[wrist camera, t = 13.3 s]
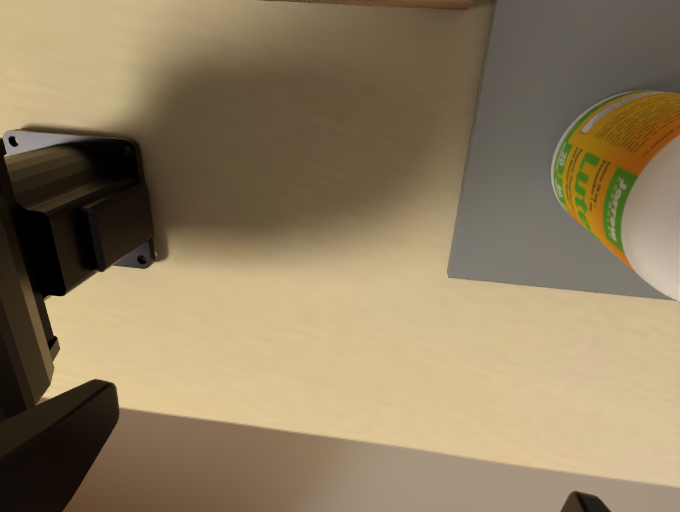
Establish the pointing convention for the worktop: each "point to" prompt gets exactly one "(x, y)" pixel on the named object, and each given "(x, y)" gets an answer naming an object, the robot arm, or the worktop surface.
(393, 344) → the worktop surface
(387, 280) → the worktop surface
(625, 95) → the supplement bottle
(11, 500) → the robot arm
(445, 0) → the hole board
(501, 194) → the slate mat
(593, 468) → the worktop surface
